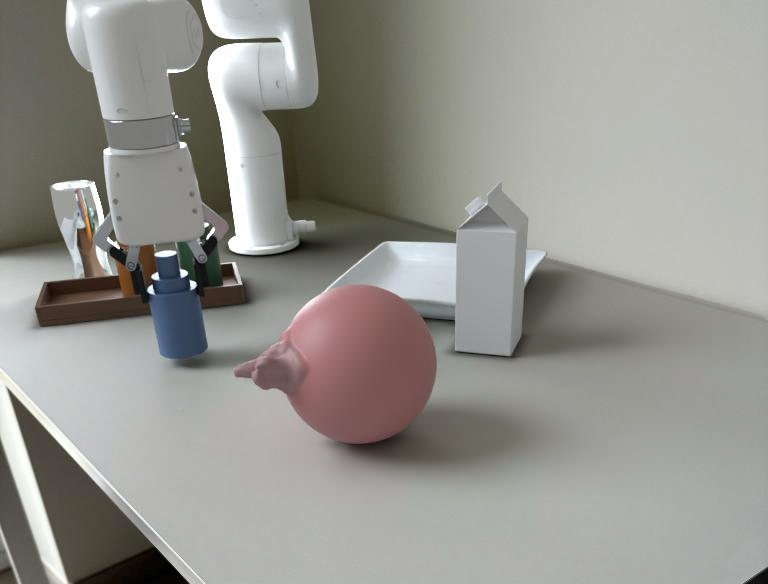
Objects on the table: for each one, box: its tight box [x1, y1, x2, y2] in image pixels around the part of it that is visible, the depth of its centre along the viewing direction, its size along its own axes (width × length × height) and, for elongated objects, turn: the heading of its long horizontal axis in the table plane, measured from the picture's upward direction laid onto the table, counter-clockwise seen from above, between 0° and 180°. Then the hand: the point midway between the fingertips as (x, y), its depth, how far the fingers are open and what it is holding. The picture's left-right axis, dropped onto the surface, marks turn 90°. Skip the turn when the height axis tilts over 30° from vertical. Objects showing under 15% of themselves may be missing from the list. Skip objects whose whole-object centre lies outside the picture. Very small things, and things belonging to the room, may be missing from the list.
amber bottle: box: [113, 234, 158, 297], centre depth 117 cm, size 6×6×12 cm
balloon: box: [232, 284, 438, 445], centre depth 78 cm, size 15×20×15 cm
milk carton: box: [454, 180, 529, 357], centre depth 97 cm, size 7×7×19 cm
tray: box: [34, 261, 246, 327], centre depth 120 cm, size 29×12×3 cm, turn 104°
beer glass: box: [49, 179, 114, 279], centre depth 126 cm, size 7×7×15 cm
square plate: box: [320, 240, 548, 321], centre depth 118 cm, size 27×27×4 cm
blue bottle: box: [147, 249, 209, 360], centre depth 97 cm, size 6×6×12 cm
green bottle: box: [175, 222, 224, 288], centre depth 119 cm, size 6×6×12 cm
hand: (173, 295), depth 96 cm, fingers closed on blue bottle, 6 cm apart
